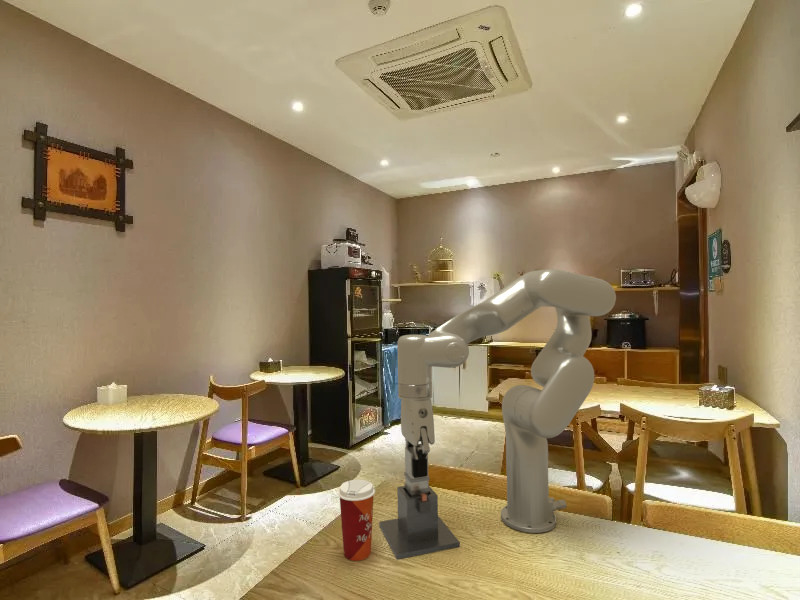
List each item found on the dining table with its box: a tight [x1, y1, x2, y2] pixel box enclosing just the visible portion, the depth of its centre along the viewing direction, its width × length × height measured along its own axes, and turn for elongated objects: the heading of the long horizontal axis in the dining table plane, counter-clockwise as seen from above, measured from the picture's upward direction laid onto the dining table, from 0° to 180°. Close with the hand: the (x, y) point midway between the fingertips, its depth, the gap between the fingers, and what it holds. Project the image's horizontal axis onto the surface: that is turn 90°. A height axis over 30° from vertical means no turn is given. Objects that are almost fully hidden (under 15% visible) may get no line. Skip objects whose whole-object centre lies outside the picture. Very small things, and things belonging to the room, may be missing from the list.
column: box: [403, 447, 430, 497], centre depth 97 cm, size 4×4×18 cm
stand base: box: [378, 484, 461, 560], centre depth 97 cm, size 14×14×11 cm
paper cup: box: [337, 479, 376, 562], centre depth 91 cm, size 8×8×14 cm
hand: (416, 471), depth 97 cm, fingers closed on column, 4 cm apart
